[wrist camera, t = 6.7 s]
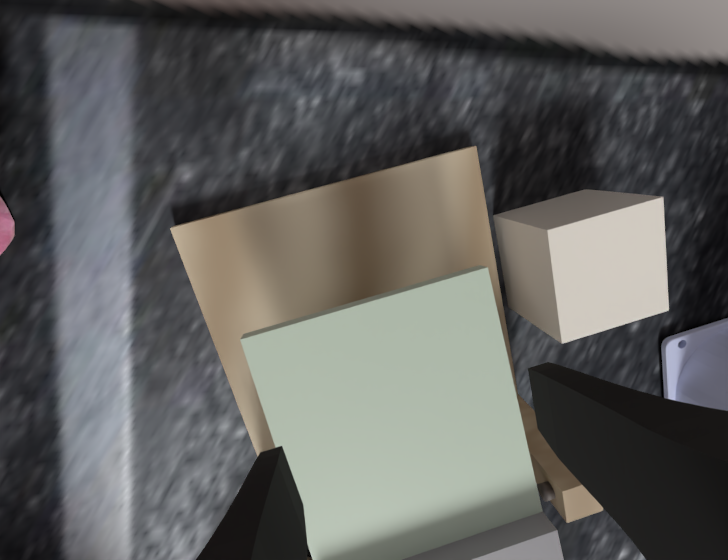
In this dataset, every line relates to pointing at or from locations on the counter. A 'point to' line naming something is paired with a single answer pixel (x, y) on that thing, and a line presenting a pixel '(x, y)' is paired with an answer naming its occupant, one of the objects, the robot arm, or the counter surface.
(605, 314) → the cream cube
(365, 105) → the counter surface
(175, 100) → the counter surface
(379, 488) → the trapdoor
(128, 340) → the counter surface
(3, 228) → the flower
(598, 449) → the robot arm
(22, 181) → the counter surface
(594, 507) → the stand
